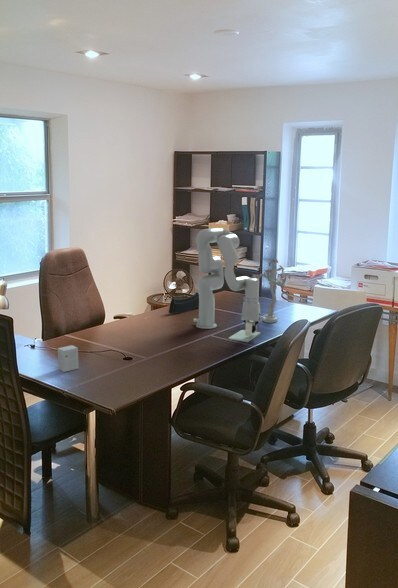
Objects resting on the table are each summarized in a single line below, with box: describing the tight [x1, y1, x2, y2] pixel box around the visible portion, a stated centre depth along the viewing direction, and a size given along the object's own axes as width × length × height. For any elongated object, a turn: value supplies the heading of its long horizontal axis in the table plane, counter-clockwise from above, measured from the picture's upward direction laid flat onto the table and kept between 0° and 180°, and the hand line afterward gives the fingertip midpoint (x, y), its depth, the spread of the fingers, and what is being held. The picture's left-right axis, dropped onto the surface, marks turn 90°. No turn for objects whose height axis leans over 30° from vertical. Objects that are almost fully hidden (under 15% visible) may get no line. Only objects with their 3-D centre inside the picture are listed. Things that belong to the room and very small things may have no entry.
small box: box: [57, 344, 80, 373], centre depth 278 cm, size 8×6×10 cm
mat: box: [227, 329, 262, 343], centre depth 337 cm, size 12×20×1 cm, turn 153°
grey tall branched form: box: [254, 258, 291, 324], centre depth 371 cm, size 28×24×40 cm
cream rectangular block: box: [244, 321, 257, 336], centre depth 334 cm, size 3×10×7 cm, turn 153°
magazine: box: [168, 292, 199, 315], centre depth 396 cm, size 17×3×30 cm
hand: (250, 331), depth 334 cm, fingers closed on cream rectangular block, 2 cm apart
